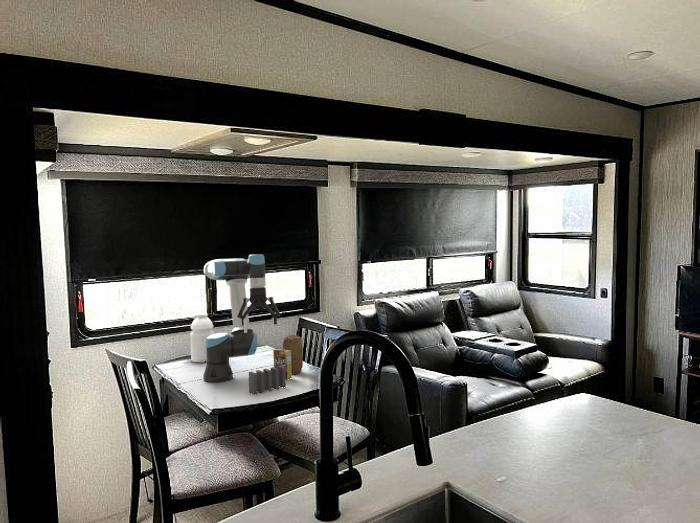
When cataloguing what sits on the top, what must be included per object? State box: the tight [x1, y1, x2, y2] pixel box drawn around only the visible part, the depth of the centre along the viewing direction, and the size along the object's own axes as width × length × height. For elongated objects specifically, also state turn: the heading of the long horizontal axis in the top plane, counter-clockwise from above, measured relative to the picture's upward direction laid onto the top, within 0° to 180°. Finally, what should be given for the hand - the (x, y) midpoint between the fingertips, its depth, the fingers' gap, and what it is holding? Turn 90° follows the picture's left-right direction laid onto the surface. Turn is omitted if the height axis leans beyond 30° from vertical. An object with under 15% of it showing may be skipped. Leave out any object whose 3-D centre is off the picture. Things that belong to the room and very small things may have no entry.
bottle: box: [189, 312, 215, 363], centre depth 324 cm, size 14×14×28 cm
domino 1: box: [248, 371, 258, 396], centre depth 261 cm, size 5×2×10 cm, turn 39°
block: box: [282, 334, 304, 375], centre depth 295 cm, size 11×8×20 cm
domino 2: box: [255, 369, 266, 394], centre depth 263 cm, size 5×2×10 cm, turn 39°
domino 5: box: [277, 366, 287, 389], centre depth 271 cm, size 5×2×10 cm, turn 39°
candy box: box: [272, 348, 293, 381], centre depth 285 cm, size 9×4×15 cm, turn 61°
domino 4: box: [269, 366, 280, 390], centre depth 268 cm, size 5×2×10 cm, turn 39°
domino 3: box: [262, 368, 273, 392], centre depth 266 cm, size 5×2×10 cm, turn 39°
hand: (259, 332), depth 257 cm, fingers open, 13 cm apart
